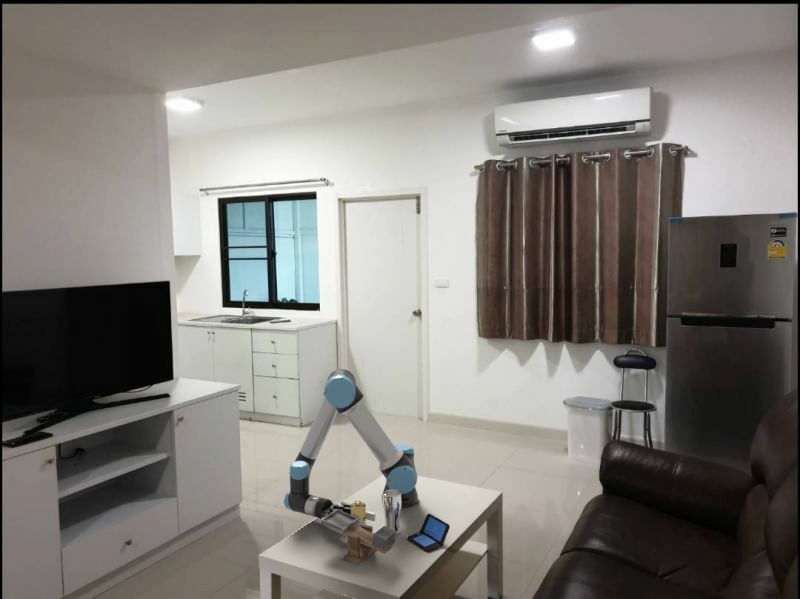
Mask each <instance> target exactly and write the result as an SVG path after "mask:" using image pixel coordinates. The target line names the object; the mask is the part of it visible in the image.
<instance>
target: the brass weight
mask: <svg viewBox="0 0 800 599" xmlns="http://www.w3.org/2000/svg"><path fill="white" fill-rule="evenodd" d="M350 504H351V505H350V509H351V515H352V516H354V517H357V518H359V520H362V521H365V525H367V524H366V521H367V519H366V511H367V510H366V508H367V507H366V503H364V502H362V501H361V500H355V501H354V502H353V503H350Z"/></svg>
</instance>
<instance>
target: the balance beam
mask: <svg viewBox="0 0 800 599" xmlns="http://www.w3.org/2000/svg"><path fill="white" fill-rule="evenodd" d="M358 522H359V518H357V517H354V516H352V515H350V514H348V513H345V512H343V511H341V510H338V509H336V510H335V511H333V512H332V513H330V514H329V515H327V516H326V517H324V518H322V519H320V525H321V526H324V527H326V528H327V529H329V530H331V531H334V532H335V533H338V534H340V535H342V536H345V537H346V538H348V535H349V534H353V535H357V536H360V544H364V545H366V546H368V547H370V548H372V549H374V550H375V551H377V552H379V553H381V554H383V555H386V554H387V553H388V552H389V551H391V550H392V549H393V548H394V547H395V543H396V540H397V539H396V538H397V534H396V532H397V531H395V530H393V529H391V528H388V527H386V526H385V525H383V526H382V527H380V528H379V529H378V530H377V531H376V532H373V533H372V532H370V531H368V530H365V529H363V528H361V527H359V526H356V524H358Z"/></svg>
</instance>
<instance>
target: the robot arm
mask: <svg viewBox="0 0 800 599" xmlns="http://www.w3.org/2000/svg"><path fill="white" fill-rule="evenodd" d="M355 377H356V376H354V374H353V373H352V371H350V370H348V369H344V368H338V369H336V370H334V371H332V372H331V373H330V374H329V375H328V377H327V379H326V383H325V385H324V391H323V393H322V396H323V399H322V402H321V404H320V406H319V407H318V411H317V413H316V415H315V417H314V419H313V422H312V424H311V426H310V428H309V431H308V432H307V435H306V436H305V440H304V441H303V444H302V446H301V447H300V450H299V452H298V454H297V456H296V458H295V460H294V462H292V463H291V464H290V465H289V472H288V474H289V488H290V489H289V490H288V491H287V492H286V493H285V496H284V499H283V505H284V507H285V508H286V509H288V510H291V511H292V512H294V513H296V512H297V513H300V514H303V515H306V516H311V517H312V518H317V519H320V520H321V519H322V518H324V517H326V516H327V515H329V514H330V513H332V512H333V511H335V510H336V509H338V510H341V511H343V512H345V513H348V514H350V515H351V509H350V505H351V504H352V503H347V502H345V501H341V502H340V504H337V503H335V504H334V503H333V502H332V501H333V500H331V499H328V498H324V497H321V496H317V495H313V494H310V478H311V472H312V469H313V466H314V465H315V463H316V460H317V458H318V455H320V454H319V453H320V451H321V450H322V447H323V444H324V442H325V441H326V438H327V436H328V434H329V432H330V430H331V428H332V425H333V423H334V421H335V419H336V417H337V415H338V414H339V415H343V416H344V415H345V417H346V418H347V419H348V421H349V422H350V424H351V425H352V426H353V428H354V429H355V430H356V432H357V433H358V435H359V436H360V438H361V439H362V441H363V442H364V443H365V445H366V446H367V447H368V448H369V450H370V452H371V453H372V454H373V456H374V457H375V459H376V461H378V464H379V466H378V469H379V471H380V472H381V474H382V475H383V478H384V479H385V485H384V487H383V490H382V494H381V501H382V503H383V493H384V491H386V490H389V489H395V490H399V491H400V492H401V509H402V508H403V509H404V508H409V507H412V505H413V506H414V504H415V505H416V504H417V503H418V502H419V494H418V492H417V487H416V485H417V484H418V483H417V482H418V473H417V470H416V465H415V449H414V448H413V447H412V446H409V445H402V444H401V445H394V443H393V442H392V441H391V439H390V438H389V436H388V435H387V433H386V432H385V431H384V430H385V429H383V427H382V426H381V424H380V423H379V421H377V419H376V418H375V416H374V415H373V414H372V412H371V411H370V409H369V408H368V406H367V405H366V404H365V401H364V398H365V396H364V394H363V393H362V391H361V390H360V388H359V387H358V385H357V383H356V382H357V381H356V378H355ZM417 501H418V502H417ZM367 520H368V521H372V522H375V521H376V513H374V512H371V511H367V510H366V521H367ZM362 524H365V521H362V520H359V522H358V524H356V526H359V527H361V525H362Z"/></svg>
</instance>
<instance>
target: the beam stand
mask: <svg viewBox="0 0 800 599" xmlns="http://www.w3.org/2000/svg"><path fill="white" fill-rule="evenodd" d="M361 528H363V529H365V530H368V531H370V532H372V533H374V532H373V526H371V525H368V524H366V525H365V524H362V525H361ZM375 551H376V550H374V549H372V548H370V547H368V546H366V545H364V544H361V543H360V536H357V535H353V534H349V535H348V537H347V553H346V555H344V556H343V561H345V562H348V563H352V564H355V565H359V564H361V562H363V561H364V560H366V558H368V557H369V556H371V555H372V553H373V552H375Z"/></svg>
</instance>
